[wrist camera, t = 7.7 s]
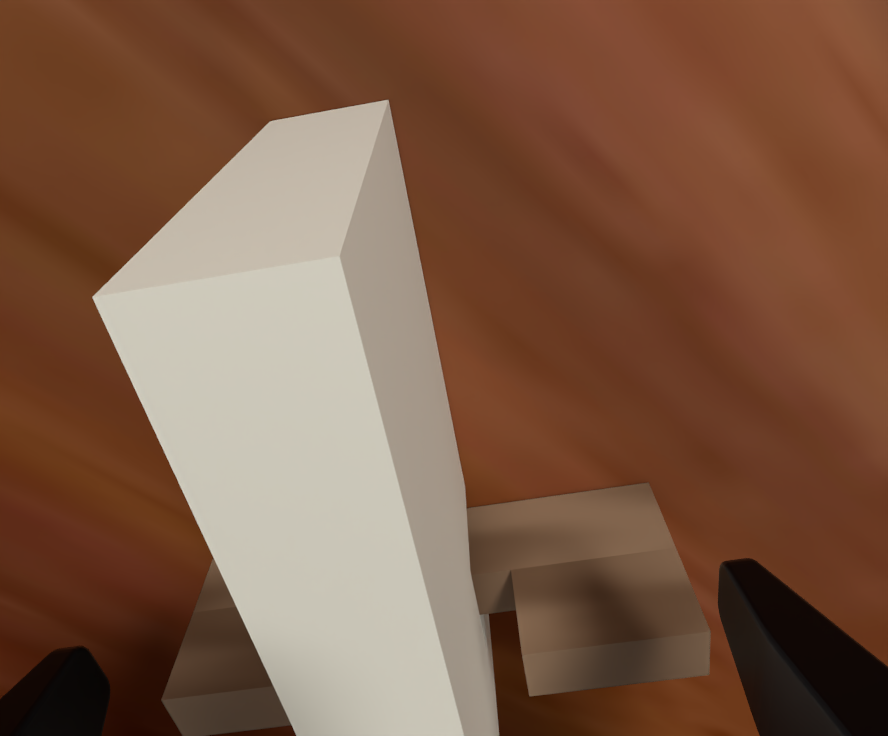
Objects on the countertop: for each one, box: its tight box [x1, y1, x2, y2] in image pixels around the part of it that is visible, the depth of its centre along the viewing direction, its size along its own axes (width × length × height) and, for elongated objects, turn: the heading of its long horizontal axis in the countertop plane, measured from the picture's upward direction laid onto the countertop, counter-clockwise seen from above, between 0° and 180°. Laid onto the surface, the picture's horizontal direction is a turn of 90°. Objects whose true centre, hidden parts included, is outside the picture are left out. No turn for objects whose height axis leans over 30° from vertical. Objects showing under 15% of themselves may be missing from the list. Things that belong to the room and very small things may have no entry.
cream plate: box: [92, 100, 499, 736], centre depth 11 cm, size 12×2×7 cm, turn 10°
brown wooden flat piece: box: [161, 483, 711, 736], centre depth 14 cm, size 10×1×4 cm, turn 100°
